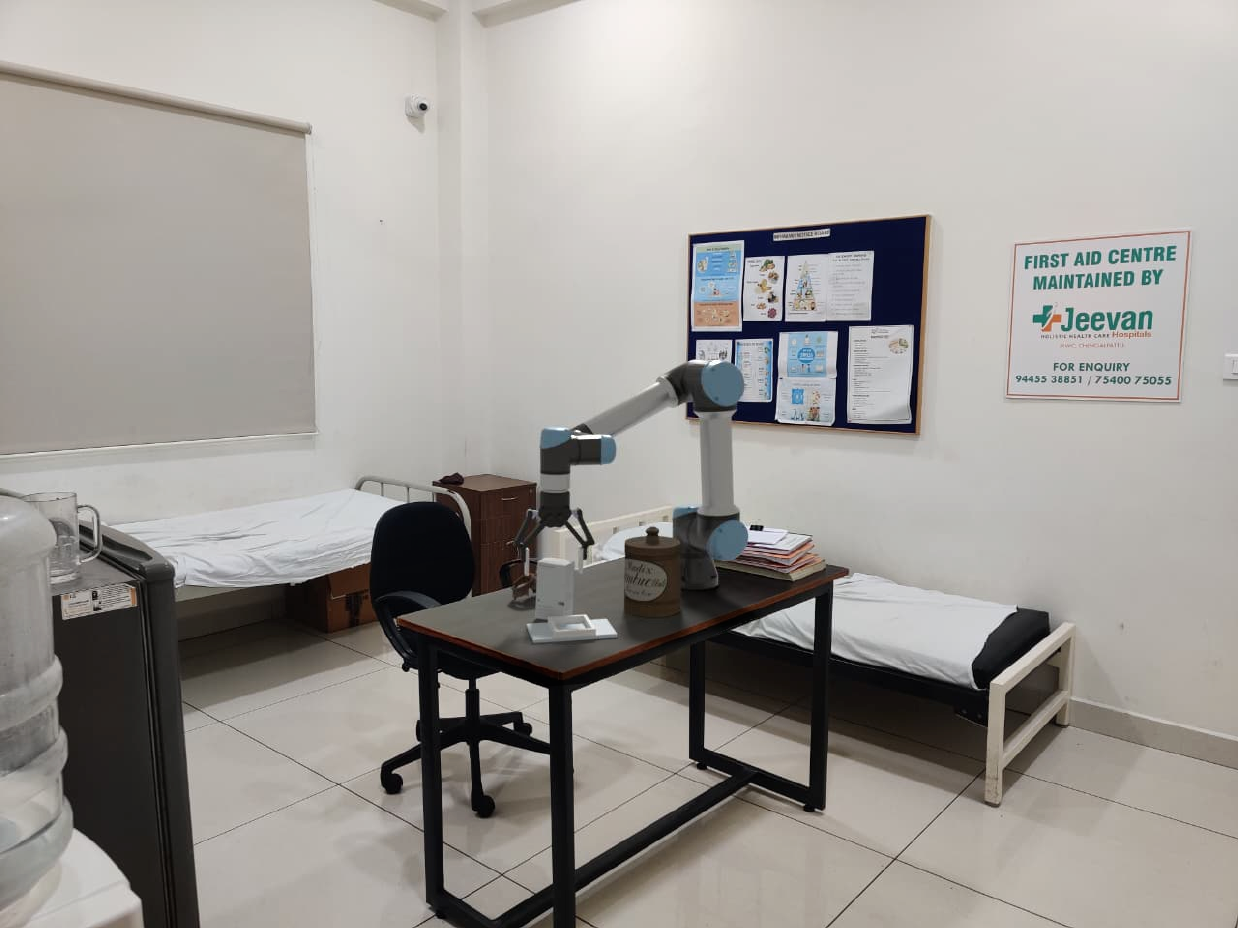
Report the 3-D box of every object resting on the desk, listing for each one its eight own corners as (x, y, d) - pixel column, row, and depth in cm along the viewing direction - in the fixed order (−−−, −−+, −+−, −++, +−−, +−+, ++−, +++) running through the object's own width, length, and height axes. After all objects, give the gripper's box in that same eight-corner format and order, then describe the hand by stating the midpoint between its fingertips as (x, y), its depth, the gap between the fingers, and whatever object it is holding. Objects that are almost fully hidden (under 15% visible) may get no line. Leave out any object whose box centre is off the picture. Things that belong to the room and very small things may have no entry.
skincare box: (534, 618, 223) (534, 561, 221) (545, 612, 229) (545, 556, 227) (565, 623, 220) (565, 564, 218) (575, 616, 226) (575, 559, 224)
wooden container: (612, 611, 231) (613, 528, 228) (644, 597, 243) (645, 519, 240) (660, 621, 222) (662, 535, 219) (690, 607, 234) (692, 525, 231)
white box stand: (606, 621, 221) (606, 612, 221) (617, 637, 210) (617, 627, 210) (526, 626, 217) (526, 617, 217) (533, 643, 205) (533, 633, 205)
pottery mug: (550, 607, 235) (535, 582, 233) (519, 620, 237) (504, 596, 235) (556, 584, 246) (541, 560, 244) (526, 596, 249) (512, 573, 246)
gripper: (600, 486, 227) (599, 568, 229) (502, 488, 221) (502, 571, 224) (607, 491, 219) (605, 575, 222) (506, 493, 214) (505, 579, 216)
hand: (553, 573), depth 223 cm, fingers open, 13 cm apart
